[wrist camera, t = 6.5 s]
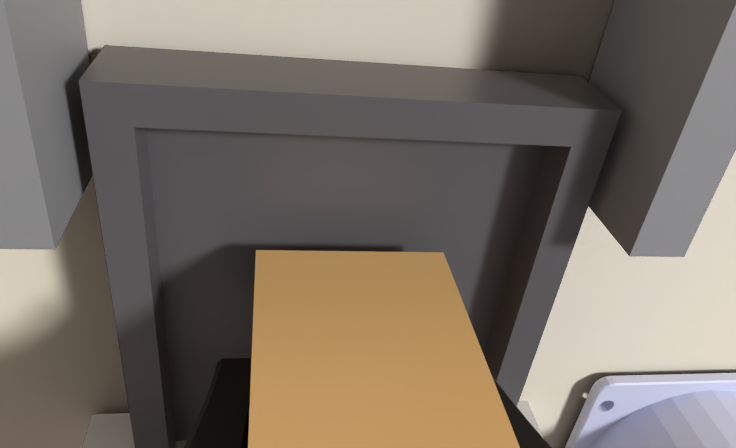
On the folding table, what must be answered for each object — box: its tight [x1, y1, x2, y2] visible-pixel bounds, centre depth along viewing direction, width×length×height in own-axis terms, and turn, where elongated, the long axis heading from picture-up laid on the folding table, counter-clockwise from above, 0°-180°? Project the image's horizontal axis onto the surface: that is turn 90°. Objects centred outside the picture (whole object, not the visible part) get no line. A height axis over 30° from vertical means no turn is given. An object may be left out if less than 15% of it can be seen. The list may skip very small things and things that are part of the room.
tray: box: [79, 45, 622, 448], centre depth 14 cm, size 11×13×5 cm
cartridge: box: [248, 250, 520, 448], centre depth 12 cm, size 5×4×5 cm
